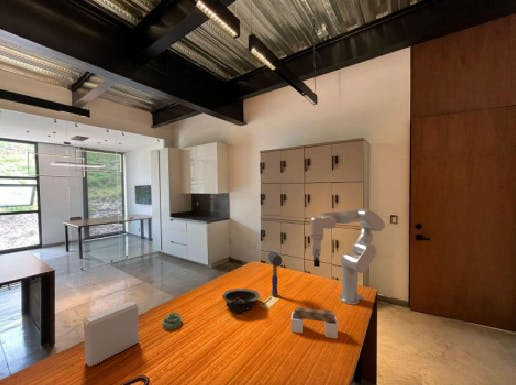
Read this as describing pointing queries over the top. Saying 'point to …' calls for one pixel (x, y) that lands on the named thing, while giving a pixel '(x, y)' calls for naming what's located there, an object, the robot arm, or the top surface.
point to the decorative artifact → (172, 321)
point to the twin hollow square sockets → (330, 328)
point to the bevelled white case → (110, 332)
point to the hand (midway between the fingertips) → (316, 263)
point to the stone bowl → (240, 299)
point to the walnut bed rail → (314, 314)
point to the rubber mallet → (274, 270)
